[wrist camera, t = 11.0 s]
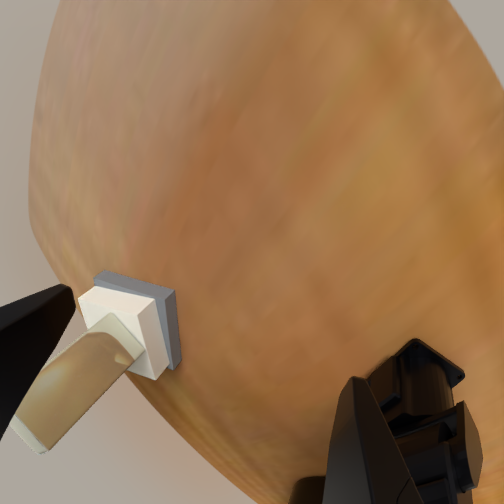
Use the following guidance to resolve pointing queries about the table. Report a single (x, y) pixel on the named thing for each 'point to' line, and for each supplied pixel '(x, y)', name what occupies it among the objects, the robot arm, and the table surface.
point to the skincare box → (74, 383)
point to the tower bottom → (163, 303)
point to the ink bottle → (308, 491)
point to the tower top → (130, 325)
